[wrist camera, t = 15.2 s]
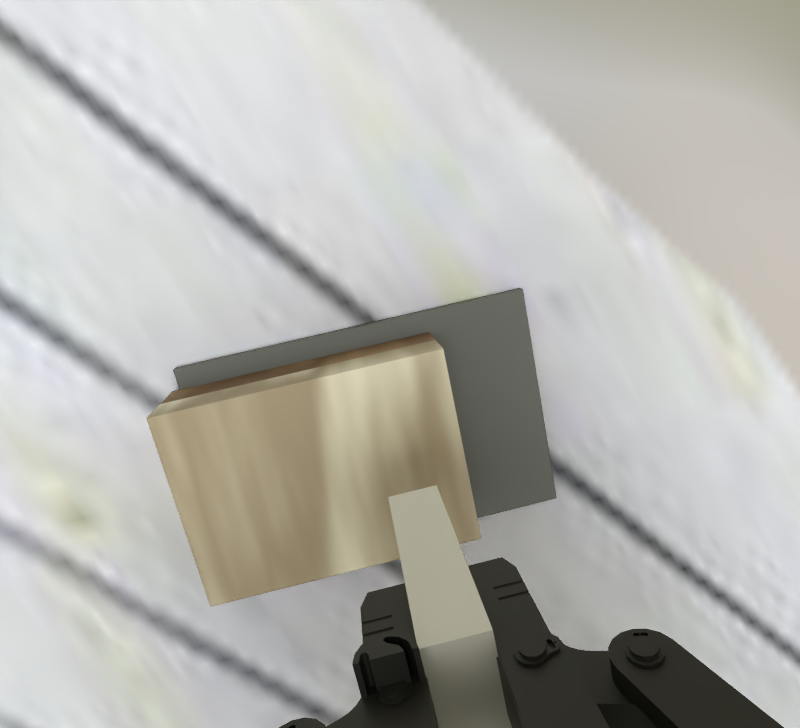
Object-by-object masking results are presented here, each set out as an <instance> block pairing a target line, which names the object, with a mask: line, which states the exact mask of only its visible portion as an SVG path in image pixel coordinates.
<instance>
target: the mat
mask: <svg viewBox="0 0 800 728" xmlns="http://www.w3.org/2000/svg"><path fill="white" fill-rule="evenodd" d="M427 332H429V333H430V334H431V335H432V336H433V337H434V339H435V340H436V341H437V342H438V343H439V344H440V346H441V347H442V348H443V349H444V354H445V359H446V364H447V369H448V374H449V379H450V384H451V389H452V394H453V399H454V404H455V409H456V414H457V419H458V424H459V429H460V434H461V440H462V445H463V450H464V455H465V460H466V465H467V470H468V475H469V480H470V485H471V490H472V495H473V500H474V505H475V510H476V515H477V518H479V517H483V516H487V515H491V514H495V513H499V512H503V511H507V510H511V509H515V508H519V507H523V506H527V505H531V504H535V503H539V502H543V501H547V500H551V499H555V498H556V492H555V486H554V480H553V474H552V467H551V461H550V455H549V449H548V443H547V437H546V430H545V424H544V418H543V412H542V406H541V399H540V393H539V387H538V381H537V375H536V369H535V362H534V356H533V350H532V344H531V338H530V331H529V325H528V319H527V313H526V307H525V301H524V294H523V289H521V288H518V289H514V290H509V291H505V292H501V293H497V294H492V295H488V296H484V297H479V298H475V299H471V300H466V301H462V302H458V303H453V304H449V305H445V306H440V307H436V308H432V309H427V310H423V311H419V312H414V313H410V314H406V315H401V316H397V317H393V318H388V319H384V320H380V321H375V322H371V323H367V324H362V325H358V326H354V327H349V328H345V329H341V330H336V331H332V332H328V333H323V334H319V335H315V336H310V337H306V338H302V339H298V340H293V341H289V342H285V343H280V344H276V345H272V346H267V347H263V348H259V349H254V350H250V351H246V352H241V353H237V354H233V355H228V356H224V357H220V358H215V359H211V360H207V361H202V362H198V363H194V364H189V365H185V366H181V367H176V368H175V369H174V370H173V371H174V374H175V377H176V380H177V384H178V387H179V390H181V389H186V388H190V387H194V386H199V385H203V384H207V383H212V382H216V381H220V380H224V379H229V378H233V377H237V376H242V375H246V374H250V373H255V372H259V371H263V370H267V369H272V368H276V367H280V366H285V365H289V364H293V363H298V362H302V361H306V360H311V359H315V358H319V357H323V356H328V355H332V354H336V353H341V352H345V351H349V350H354V349H358V348H362V347H366V346H371V345H375V344H379V343H384V342H388V341H392V340H397V339H401V338H405V337H410V336H414V335H418V334H422V333H427Z"/></svg>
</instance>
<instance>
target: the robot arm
mask: <svg viewBox="0 0 800 728" xmlns="http://www.w3.org/2000/svg"><path fill="white" fill-rule="evenodd" d="M388 499H389V504H390V509H391V514H392V520H393V525H394V530H395V535H396V540H397V545H398V550H399V555H400V560H401V566H402V571H403V576H404V581H405V583H404V584H400V585H396V586H392V587H389V588H385V589H381V590H377V591H373V592H369V593H367V595H366V597H365V600H364V602H363V604H362V606H361V621H362V635H363V644H362V645H361V646H360V648H359V649H358V651H357V652H356V653H355V655H354V660H353V668H354V672H355V675H356V679H357V682H358V686H359V690H360V693H361V697H362V698H361V699H360V701H359V702H358V704H357V705H356V706H355V707H354V708H353V709H352V710H351V711H350V712H349V713H348V714H346V715H345V716H343V717H342V718H341V719H339V720H337V721H335V722H334V723H332V724H330V725H328V726H327V727H326V726H325V724H323V723H322V722H320V721H318V720H317V719H312V718H301V719H297V720H292V721H290V722H288V723H286V724H285V725H283V726H281V727H279V728H784V727H782V726H781V725H780V724H779V723H777V722H776V721H775V720H774V719H772V718H771V717H770V716H769V715H767V714H766V713H765V712H763V711H762V710H761V709H760V708H758V707H757V706H756V705H755V704H753V703H752V702H751V701H750V700H748V699H747V698H746V697H745V696H743V695H742V694H741V693H740V692H738V691H737V690H736V689H734V688H733V687H732V686H731V685H729V684H728V683H727V682H726V681H724V680H723V679H722V678H721V677H719V676H718V675H717V674H716V673H714V672H713V671H712V670H710V669H709V668H708V667H707V666H705V665H704V664H703V663H702V662H700V661H699V660H698V659H697V658H695V657H694V656H693V655H692V654H690V653H689V652H688V651H687V650H685V649H684V648H683V647H681V646H680V645H679V644H678V643H676V642H675V641H674V640H673V639H671V638H669V637H668V636H666V635H664V634H662V633H661V632H657V631H653V630H649V629H631V630H628V631H625V632H621V633H620V634H619V635H617V636H616V637H615V638H613V639H612V641H611V643H610V645H609V648H608V649H609V651H584V650H577V649H574V648H570V647H568V646H566V645H564V644H563V643H562V641H561V640H560V639H559V638H558V637H556V636H554V635H552V634H551V633H550V631H549V629H548V627H547V625H546V624H545V622H544V620H543V618H542V616H541V614H540V612H539V610H538V608H537V606H536V605H535V603H534V601H533V599H532V597H531V595H530V593H529V592H528V589H527V587H526V586H525V584H524V582H523V580H522V578H521V576H520V574H519V572H518V570H517V568H516V567H515V566H514V565H512V564H511V563H509V562H508V561H506V560H505V559H503V558H502V557H501V558H497V559H493V560H490V561H486V562H482V563H478V564H474V565H470V566H468V565H467V562H466V560H465V557H464V554H463V552H462V549H461V547H460V544H459V542H458V539H457V537H456V534H455V531H454V529H453V526H452V524H451V521H450V519H449V516H448V513H447V511H446V508H445V506H444V503H443V501H442V498H441V495H440V493H439V490H438V488H437V485H435V486H431V487H427V488H423V489H419V490H415V491H411V492H407V493H403V494H398V495H394V496H390V497H388Z"/></svg>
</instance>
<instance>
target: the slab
mask: <svg viewBox="0 0 800 728" xmlns="http://www.w3.org/2000/svg"><path fill="white" fill-rule="evenodd" d="M147 421H148V424H149V427H150V430H151V433H152V436H153V439H154V442H155V445H156V448H157V451H158V454H159V456H160V459H161V462H162V465H163V468H164V471H165V474H166V477H167V480H168V483H169V486H170V489H171V492H172V495H173V498H174V500H175V503H176V506H177V509H178V512H179V515H180V518H181V521H182V524H183V527H184V530H185V533H186V536H187V539H188V542H189V544H190V547H191V550H192V553H193V556H194V559H195V562H196V565H197V568H198V571H199V574H200V577H201V580H202V583H203V586H204V588H205V591H206V594H207V597H208V600H209V603H210V606H215V605H219V604H223V603H227V602H231V601H235V600H239V599H243V598H247V597H251V596H255V595H259V594H263V593H267V592H271V591H275V590H279V589H283V588H287V587H291V586H295V585H299V584H303V583H307V582H311V581H315V580H318V579H322V578H326V577H330V576H334V575H338V574H342V573H346V572H350V571H354V570H358V569H362V568H366V567H370V566H374V565H378V564H382V563H386V562H390V561H394V560H398V559H400V555H399V550H398V545H397V540H396V535H395V530H394V525H393V520H392V514H391V509H390V504H389V499H388V497H390V496H394V495H398V494H403V493H407V492H411V491H415V490H419V489H423V488H427V487H431V486H435V485H437V488H438V490H439V493H440V495H441V498H442V501H443V503H444V506H445V508H446V511H447V513H448V516H449V519H450V521H451V524H452V526H453V529H454V531H455V534H456V537H457V539H458V542H459V544H461V543H465V542H469V541H473V540H477V539H481V535H480V530H479V525H478V520H477V515H476V510H475V505H474V500H473V495H472V490H471V485H470V480H469V475H468V470H467V465H466V460H465V455H464V450H463V445H462V440H461V434H460V429H459V424H458V419H457V414H456V409H455V404H454V399H453V394H452V389H451V384H450V379H449V374H448V369H447V364H446V359H445V354H444V349H443V348H442V347H441V346H440V344H439V343H438V342H437V341H436V340H435V339H434V337H433V336H432V335H431V334H430V333H429V332H427V333H422V334H418V335H414V336H410V337H405V338H401V339H397V340H392V341H388V342H384V343H379V344H375V345H371V346H366V347H362V348H358V349H354V350H349V351H345V352H341V353H336V354H332V355H328V356H323V357H319V358H315V359H311V360H306V361H302V362H298V363H293V364H289V365H285V366H280V367H276V368H272V369H267V370H263V371H259V372H255V373H250V374H246V375H242V376H237V377H233V378H229V379H224V380H220V381H216V382H212V383H207V384H203V385H199V386H194V387H190V388H186V389H181V390H177V391H173V392H172V393H171V394H170V395H169V396H168V397H167V398H166V399H165V400H164V401H163V402H162V403H161V404H160V405H159V406H158V407H157V408H156V409H155V410H154V411H153V412H152V413H151V414H150V415H149V416H148V417H147Z"/></svg>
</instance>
